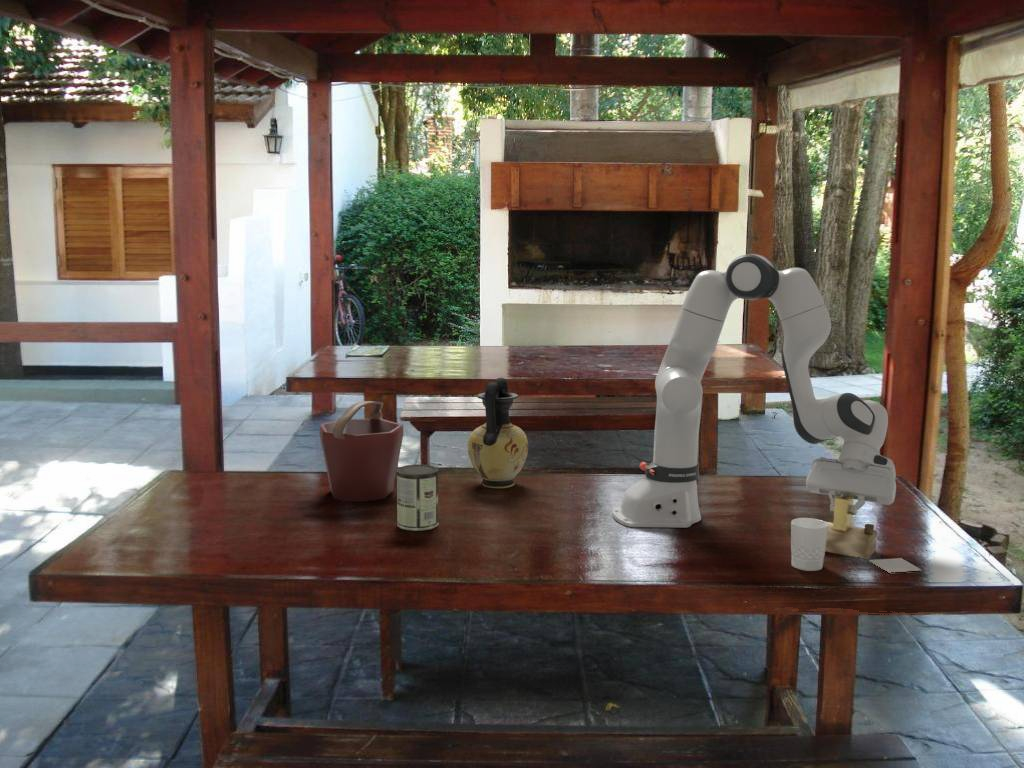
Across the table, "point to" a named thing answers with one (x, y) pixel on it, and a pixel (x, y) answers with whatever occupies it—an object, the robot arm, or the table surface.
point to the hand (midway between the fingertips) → (842, 512)
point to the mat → (894, 565)
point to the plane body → (852, 541)
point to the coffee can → (417, 497)
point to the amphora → (497, 439)
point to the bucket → (361, 454)
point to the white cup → (808, 543)
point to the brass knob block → (842, 512)
